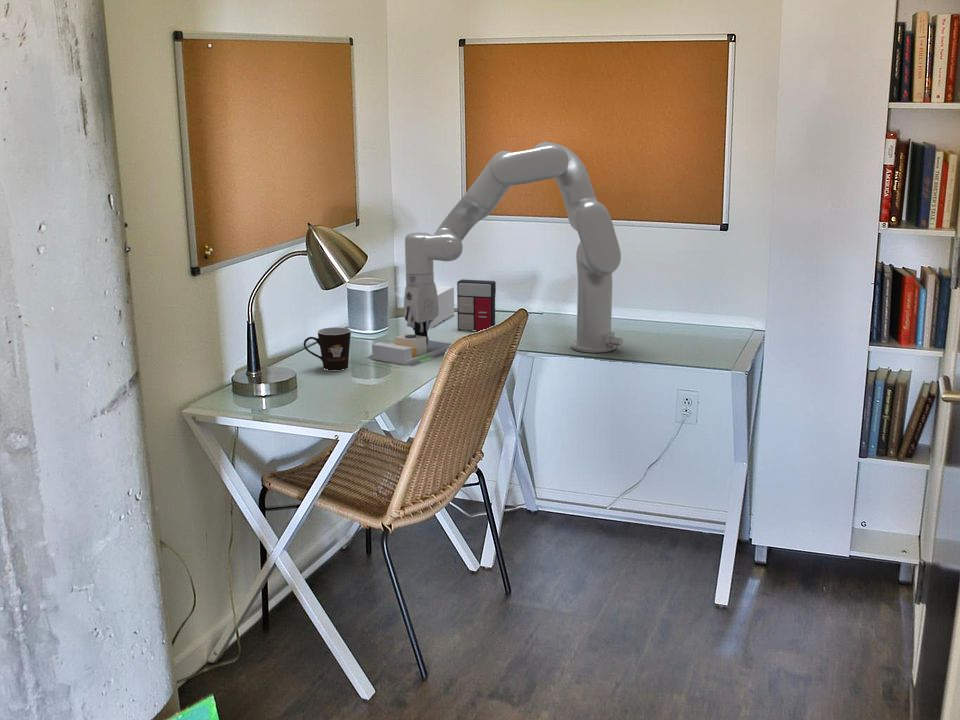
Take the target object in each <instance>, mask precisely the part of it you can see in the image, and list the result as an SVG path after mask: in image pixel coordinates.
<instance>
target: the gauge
mask: <svg viewBox="0 0 960 720" xmlns="http://www.w3.org/2000/svg"><path fill="white" fill-rule="evenodd" d="M393 341H394V344H400V345H406V346H412V347H417V356H419V355H422V354H425V353H427V345H426V337H424V336H418V335H415V334H412V333H404V334H401V335H398V336H394V340H393Z"/></svg>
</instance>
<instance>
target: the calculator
mask: <svg viewBox="0 0 960 720" xmlns="http://www.w3.org/2000/svg"><path fill="white" fill-rule="evenodd" d="M456 285H457V287H456V292H457V295H456V296H457V299H456V301H457V303H456V304H457V330H458V331H460V330H476V331H480V330H483V329H487V328H489V327H491V326H494V325H495V326H496V294H497V293H496V290H497V289H496V288H497V287H496V285H497V283H496V281H495V280H480V279H465V278H463V279H460V280H458V281H457V282H456ZM476 331H475V332H476Z"/></svg>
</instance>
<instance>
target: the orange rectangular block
mask: <svg viewBox="0 0 960 720" xmlns="http://www.w3.org/2000/svg"><path fill="white" fill-rule="evenodd" d="M393 344H394V345H400V344H395V343H393ZM400 346H406V345H400ZM406 347H412V346H406ZM415 357H417V347H412V358H415Z"/></svg>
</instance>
